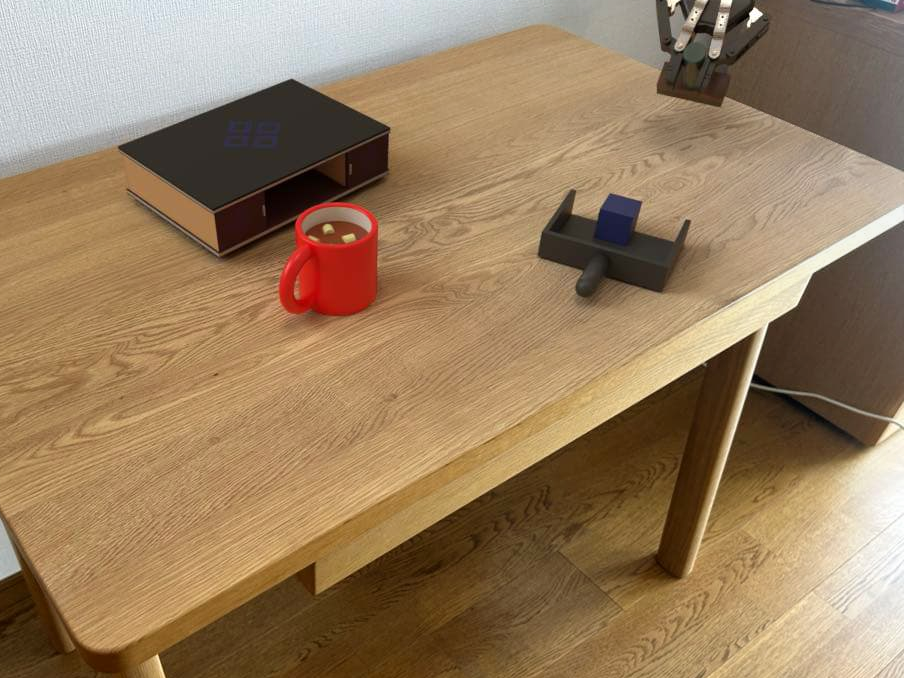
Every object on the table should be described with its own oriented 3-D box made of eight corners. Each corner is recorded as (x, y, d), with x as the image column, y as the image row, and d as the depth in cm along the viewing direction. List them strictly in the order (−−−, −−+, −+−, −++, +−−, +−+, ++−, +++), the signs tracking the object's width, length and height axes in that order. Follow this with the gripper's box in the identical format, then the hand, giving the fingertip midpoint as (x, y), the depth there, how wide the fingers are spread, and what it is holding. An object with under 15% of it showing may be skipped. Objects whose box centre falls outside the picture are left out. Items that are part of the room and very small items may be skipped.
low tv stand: (389, 179, 103) (391, 127, 98) (220, 264, 91) (212, 209, 86) (294, 128, 112) (291, 78, 107) (128, 199, 99) (116, 146, 95)
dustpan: (566, 214, 98) (571, 188, 96) (683, 246, 94) (691, 220, 91) (516, 287, 88) (520, 261, 86) (644, 326, 84) (652, 300, 82)
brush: (729, 84, 107) (735, 46, 97) (720, 107, 108) (725, 72, 97) (665, 70, 110) (664, 32, 100) (656, 93, 110) (655, 57, 100)
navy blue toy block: (609, 192, 94) (599, 208, 92) (642, 201, 93) (633, 217, 91) (603, 221, 97) (593, 237, 94) (634, 230, 95) (625, 246, 93)
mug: (255, 316, 85) (248, 248, 79) (331, 259, 91) (329, 193, 86) (318, 348, 81) (315, 279, 76) (392, 286, 88) (394, 219, 83)
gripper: (677, -84, 98) (622, 64, 99) (805, -64, 94) (747, 90, 95) (676, -47, 105) (625, 91, 106) (795, -27, 101) (741, 116, 102)
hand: (683, 90), depth 101 cm, fingers closed on brush, 2 cm apart
